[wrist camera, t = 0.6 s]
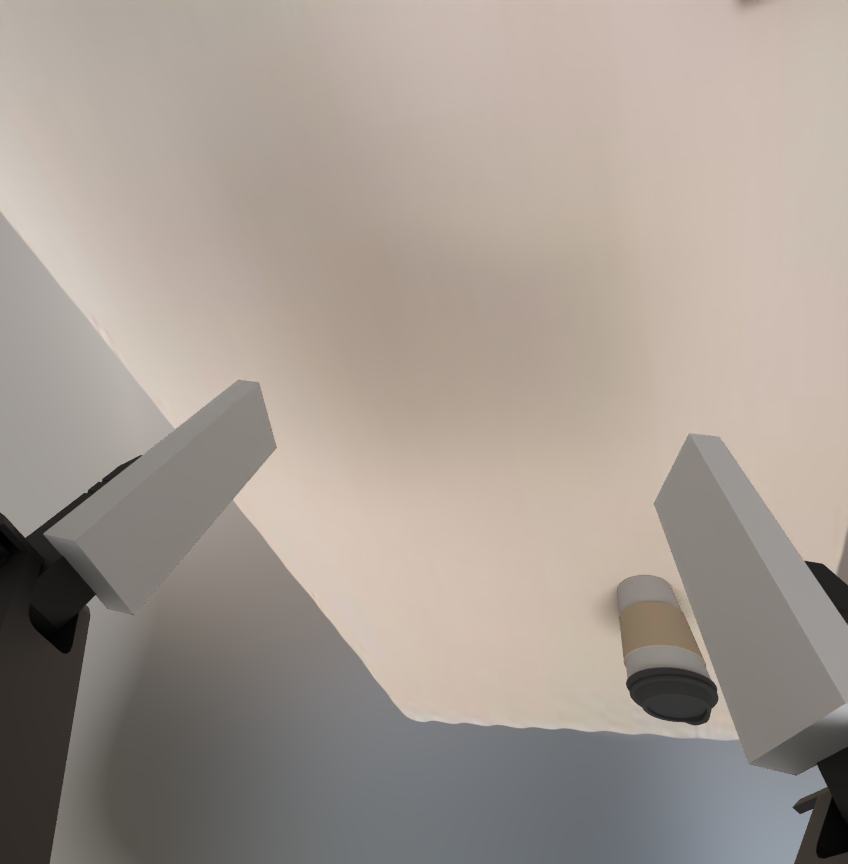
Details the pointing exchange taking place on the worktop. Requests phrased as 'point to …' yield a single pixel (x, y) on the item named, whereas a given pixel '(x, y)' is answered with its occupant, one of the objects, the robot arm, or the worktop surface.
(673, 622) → the coffee cup
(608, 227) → the worktop surface
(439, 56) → the worktop surface
